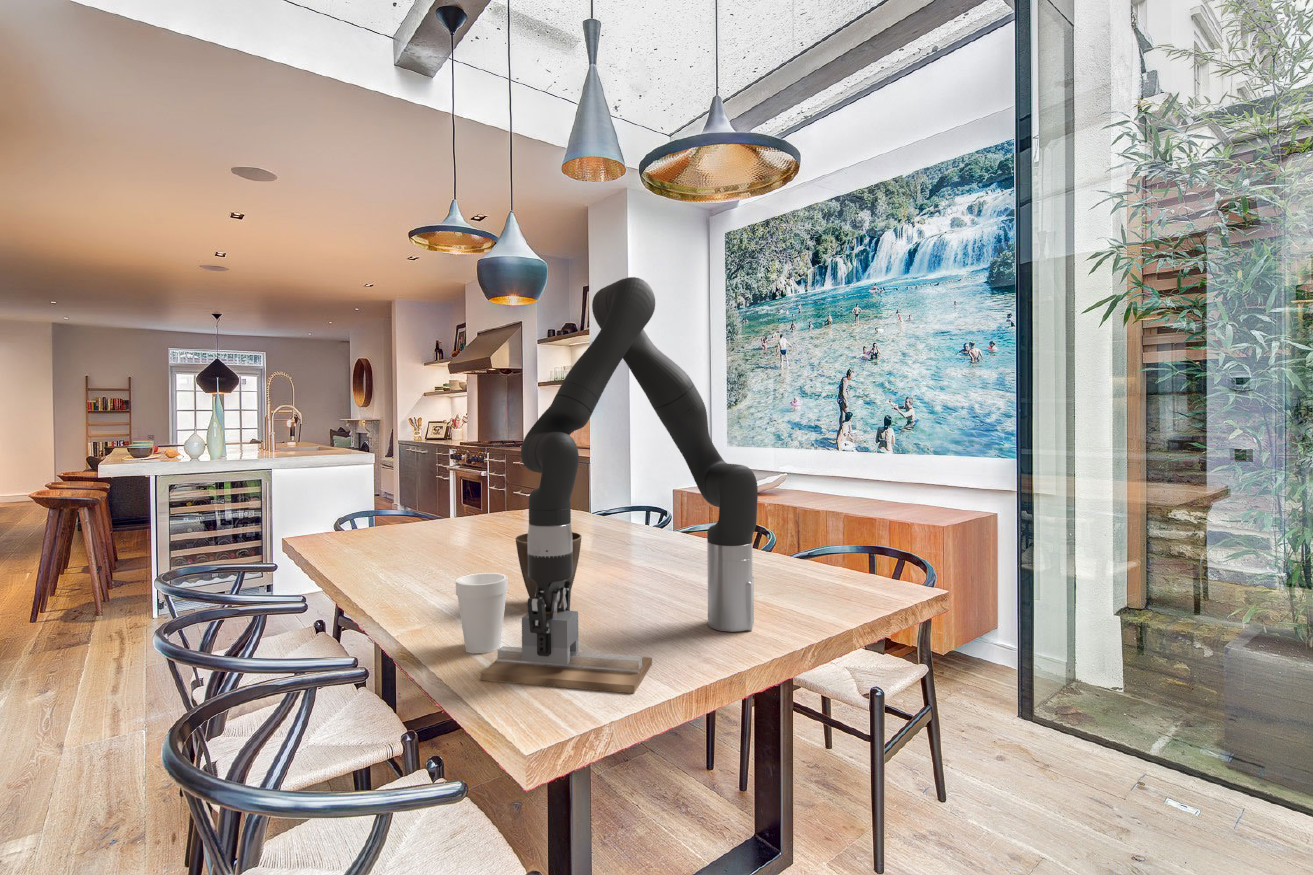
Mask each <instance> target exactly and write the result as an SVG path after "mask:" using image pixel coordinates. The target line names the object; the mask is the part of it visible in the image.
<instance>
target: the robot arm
mask: <svg viewBox="0 0 1313 875" xmlns="http://www.w3.org/2000/svg"><path fill="white" fill-rule="evenodd" d="M591 306H592V307H591V310H592V314H593V318H594V319H595V321H596V323H597V325H598V327H599V328H600V331H598V333H597V335H596V337H595V338H594V339H593V341H592V342H591V343H590V345H589V346H588V347H587V349H586V350H585V351H584V352H583V353H582V355H580V357H579V358H578V360H576V362H575V363H574V364H573V366H572V367H571V368H570V370H569V371H568V373H567V374H566V376H565V378H564V379H563V381H562V383H561V385H560V386H559V388H558V390H557V392H556V394H555V396H554V398H553V400H552V402H551V403H550V405H549V407H548V408H547V409H546V410H545V411H544V412H543V413H542V414H541V415H540V417H539V418H538V419H537V421H535V423H534V424H533V425H532V426H531V428H530V429H529V430H528V432H527V433H526V435H525V437H524V439H523V441H522V444H521V448H520V458H521V462H522V463H523V466H524V467H525V468H526V469H528V471H531V472H535V473H540V474H541V477H540V483H539V487H538V488H535V489H533V490H532V491H531V492H530V494H529V496H528V531H527V533H528V538H527V545H528V578H529V579H530V580H532V581H535V582H536V583H537V588H536V593H535V598H530V597H528V599H527V603H526V604H527V611H528V613H527V614H528V615H529V625H530V632H531V633H537V654H538V655H539V656H549V655H550V654H551V620H553V619H555V618H556V611H571V598H572V597H571V596H572V588H571V580H567V579H569V578H571V577H572V575H573V542H572V532H573V531H572V518H571V517H572V515H571V514H572V513H571V512H572V506H571V499H572V493H573V491H574V490H573V489H574V486H575V484H576V483H575V482H576V477H577V473H578V469H579V460H580V459H579V458H580V457H579V455H580V454H579V449H578V446H577V443H576V441H575V440H574V438H573V437H572V436H571V434H572V433H574V432H576V431H578V430H580V429H582V428H584V427H585V426H586V425H587V424H588V422H589V420H590V419H591V417H592V415H593V412H594V410H595V408H596V407H597V404H598V403H599V401H600V399H601V396H602V394H603V393H604V392H605V388H606V387H607V385H608V384H609V382H610V380H611V378H612V376H613V374H614V372H616V369H617V367H618V366H619V365H620V363H621V361H622V359H623V360H624V363H625V364H626V365H627V367H628V368H629V370H630V372H631V374H632V375H633V377H634V378H635V380H636V381H637V383H638V385H639V386H640V388H641V389H642V391H643V392H644V394H645V396H646V397H647V399H648V401H649V404H650V405H651V407H652V409H653V410H654V411H655V413H656V415H657V417H658V418H659V420H660V422H661V423H662V425H663V426H664V428H665V429H666V431H667V432H668V434H669V436H670V438H671V439H672V441H673V442H674V444H675V446H676V448H677V449H678V450H679V452H680V453H681V456H682V457H683V460H685V463H686V465H687V467H688V469H689V470H690V473H691V476H692V478H693V480H694V482H695V484H696V486H697V489H698V491H699V493H700V494H701V496H702V498H703V499H704V500H705V501H706V502H707V503H708V504H710V505H712V506H713V507H716V508H718V520H717V522H716V523H715V524H713V525H711V526H709V527H708V528H707V531H706V532H707V534H706V538H707V540H706V543H707V546H706V548H707V549H706V550H707V552H706V553H707V561H706V562H707V626H708V627H709V628H711V629H714V630H717V631H720V632H721V631H722V632H729V633H730V632H733V633H734V632H744V631H753V627H754V622H755V608H754V607H755V602H754V601H755V598H754V597H755V583H754V582H755V581H754V580H755V579H754V576H753V571H754V569H753V565H754V564H753V560H754V559H753V556H754V555H753V540H754V539H753V536H754V533H755V530H756V528H757V520H758V519H757V518H758V517H757V516H758V500H759V499H758V498H759V496H758V495H759V494H758V493H759V489H758V482H757V479H756V475H755V473H754V471H753V470H752V469H751V468H749V467H748V466H746V465H743V464H735V463H727V462H726V461H725V460H724V459H723V457H722V456H721V455H720V453H719V451H718V450H717V448H716V446H715V445H714V443H713V441H712V439H711V436H710V433H709V432H710V430H709V425H708V424H709V423H708V415H707V414H708V412H707V408H706V404H705V402H704V400H703V398H702V396H701V394H700V393H699V391H698V389H697V387H696V385H695V383H694V382H693V381H692V378H691V377H690V376H689V374H687V372H686V371H685V370H684V369H683V368H682V367H680V366H679V364H677V363H676V362H675V361H674V360H672V359H671V358H669V357H668V356H667V355H665V353H663V352H662V351H661V350H660V349H659V348H658V347H657V346H656V345H654V342H652V340H651V339H650V338H649V336H648V334H647V333H646V331H645V329H644V328H645V327H647V325H648V323H649V322H650V321H651V319H652V317H653V315H654V312H655V309H656V296H655V294H654V291H653V289H652V287H651V285H649V283H648V282H647V281H645V280H644V279H642V278H639V277H636V276H631V277H630V276H629V277H625V278H621V279H619V280H617V281H615V282H613V283H611V284H609V285H606V286H603V287H601V289H599V290H598V291H597V292H596V293H595V294H594V296H593V299H592V304H591ZM560 603H561V604H560ZM545 612H550V613H549V614H546V613H545ZM546 619H547V624H546ZM535 620H536V623H535ZM540 622H541V626H540Z"/></svg>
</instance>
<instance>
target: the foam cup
mask: <svg viewBox="0 0 1313 875" xmlns="http://www.w3.org/2000/svg"><path fill="white" fill-rule="evenodd" d="M508 590H509V579H508V575H507V574H503V573H498V572H497V573H496V572H479V573H472V574H467V575H462V576H459V577H457V579H455V596H457V600H458V601H457V602H458V608H459V614H460V615H459V616H460V621H461V627H462V628H461V629H462V634H463V635H462V636H463V641H464V642H463V643H464V646H465V651H466V652H467V651H468V653H469V654H474V653H482V654H488V653H493V652H495V651H497V649H498V648H499V647H500V648H501V644H502V634H503V627H504V626H503V625H504V618H505V608H506V601H507V594H508V593H507V592H508ZM500 648H499V649H500Z"/></svg>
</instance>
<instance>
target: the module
mask: <svg viewBox="0 0 1313 875" xmlns="http://www.w3.org/2000/svg"><path fill="white" fill-rule="evenodd" d="M545 613H546V614H549V613H550V612H545ZM535 623H536V620H535ZM546 624H547V619H546ZM540 626H541V622H540ZM579 642H580V641H579V611H576V610H570V611H556V618H555V619H553V620H551V654H550V655H549V656H539V655H538V654H537V633H531V632H530V625H529V615H528V613H527V614H525V615H523V616H522V617H521V648H522V661H532V662H545V663H557V664H568V663H569V662H570V651H575V652H580V650H579Z"/></svg>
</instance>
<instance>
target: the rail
mask: <svg viewBox="0 0 1313 875" xmlns="http://www.w3.org/2000/svg"><path fill="white" fill-rule="evenodd" d="M496 651H497V659H496V660H497V663H508V664H520V665H533V666H546V667H558V668H571V669H583V670H596V671H608V672H621V673H633V674H639V672H640V671H641V669H642V668H643V666H642V657H643V656H642V655H641V656H640V655H630V654H629V655H628V654H627V655H626V654H614V653H603V652H602V653H599V652H588V651H586V652H585V651H579V652H575V651H570V662H569V663H568V664H557V663H545V662H532V661H522V646H521V647H520V646H518V647H517V646H506V645H504V646H503V645H502V646H500V648H499V649H498V650H496Z"/></svg>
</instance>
